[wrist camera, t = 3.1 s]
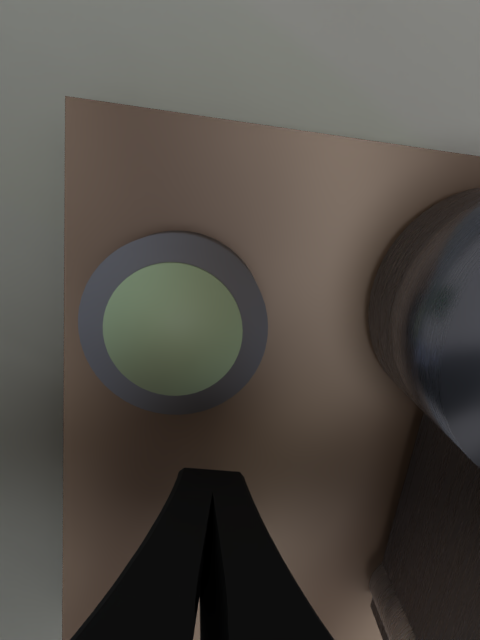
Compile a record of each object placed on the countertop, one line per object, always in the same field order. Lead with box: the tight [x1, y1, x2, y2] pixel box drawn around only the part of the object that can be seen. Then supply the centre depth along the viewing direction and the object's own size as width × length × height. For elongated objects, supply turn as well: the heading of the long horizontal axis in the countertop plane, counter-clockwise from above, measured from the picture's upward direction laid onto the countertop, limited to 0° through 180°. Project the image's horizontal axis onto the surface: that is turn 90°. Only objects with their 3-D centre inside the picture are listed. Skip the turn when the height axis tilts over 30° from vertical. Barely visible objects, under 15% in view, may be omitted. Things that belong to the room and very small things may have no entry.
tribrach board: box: [62, 96, 480, 640], centre depth 10 cm, size 16×14×2 cm
